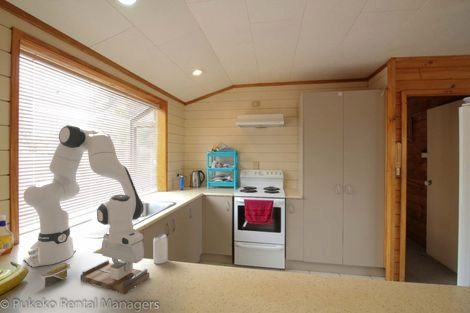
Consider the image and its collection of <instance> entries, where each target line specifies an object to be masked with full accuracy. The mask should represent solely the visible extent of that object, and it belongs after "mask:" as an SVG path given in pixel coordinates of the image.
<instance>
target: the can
mask: <svg viewBox="0 0 470 313" xmlns="http://www.w3.org/2000/svg"><path fill="white" fill-rule="evenodd" d="M152 245H153V247H152V251H153V253H152V254H153V256H152V258H153V263H154V264H156V265H161V264H165V263H166V262H168V256H169V255H168V254H169V252H168V251H169V250H168V236H167V235H166V234H164V233H162V234H161V233H160V234H157V235H155V236H154V237H153V241H152Z"/></svg>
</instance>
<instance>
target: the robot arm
mask: <svg viewBox="0 0 470 313" xmlns="http://www.w3.org/2000/svg"><path fill="white" fill-rule="evenodd" d="M58 140H59V143H58V145H57V147H56V149H55V151H54V154H53V156H52V159H51V161H50V165H49V171H50V172H51V173H52V174H53V179H52V181H44V182H38V183H36V184H35V183H34V184H33V185H30V186H28V187H27V188H26V189H25V190H24V193H23V200H24V202H25V203H26V204H27V205H28V206H30V207H31V208H33V209H34V210H35V211H36V212H37V215H38V218H39V228H40V229H39V232H38V234H37V238H38V239H37V241H36V242H35V243H34V244H33V245H32V246H30V249H29V250H28V251H27V252H28V255H27V256H25V257H24V258H23V261H24V260H25V261H26V262H25V263H26V264H28V266H30V267H31V266H32V267H31V268H36V267H40V266H48V265H53V264H54V265H55V264H58V263H62V262H63V261H66V260H68V259H70V258H72V257H73V256H74V253H76V251H77V250H76V248H74V242H73V241H74V240H73V237H72V236H70V235H71V228H70V225H69V223H70V222H69V220H70V219H69V217H70V216H69V213H68V211H67V210H65V209H63V208H62V207H61V203H62V202H65V201H68V200H69V201H70V200H71V199H73V198H75V197H76V196H78V194H79V193H80V188H81V187H80V184H79V183H78V182H77V180H76V179H77V171H78V169H79V165H80V164H81V160H82V158H83V155H84V152H85V151H87V155H88V156H87V157H88V162H89V167H90V169H91V171H92V172H94V173H95V174H97V175H98V176H101V177H104V178H107V179H108V178H109V179H112V180H114V181H117V182H118V183H119V185H121V188H122V190H123V194H116V195H113V196H111V197H110V198H109V200H108V201H106V202H103V203H100V205H99V206H98V208H96V218H97V219H96V220H97V222H98V223H99V224H101V225H103V226H106V225H108V226H109V228H108V232H106V233H105V234H104V235H103V240H102V242H101V256H103V257H106V258H111V260H112V263H113V264H115V263H117V262H119V261H121V260H123V261H125V263H127V264H126V266H124V271H129V270H130V265H131V263H133V264H138V263H139V262H141V261H143V259H144V258H145V257H144V255H145V250H144V249H145V247H144V243H143V241H142V240H143V239H144V235H143V233H140V232H139V231H137V230H136V229H135V228H134V224H133V221H134V220H138V219H139V218H140V217H141V216H142V215H143V212H144V210H145V209H144V207H145V206H144V203H143V201H142V199H141V198H140V197H139V195H138V194H139V193H138V192H137V190H136V189H137V188H136V187H135V185H134V182H133V179H132V177H131V175H130V172H129V170H128V168H127V166H124V165H122V163H121V162H120V161H119V159H118V156H117V152H116V149H115V145H114V143H113V140H112V138H111V135H109V134H108V133H106V132H104V131H101V130H98V129H95V128H91V127H84V126H78V125H76V124H75V125H74V124H67V125H63V127H62V128H61V129H60V131H59V133H58Z"/></svg>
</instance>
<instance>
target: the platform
mask: <svg viewBox="0 0 470 313" xmlns="http://www.w3.org/2000/svg"><path fill="white" fill-rule="evenodd" d="M70 269H71V264H69V263H67V262H63V263H60V264H59V265H57V266H53V267H51V268H49V269H48V272H46V273H44V274H43V273H42V274H41V275H40V278H42V279H43V278H44V287H45V286H46V287H47V286H50V285H52V284H54V283H56V282H58V281H60V280H66V279H67V277H68V270H70Z"/></svg>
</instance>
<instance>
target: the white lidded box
mask: <svg viewBox="0 0 470 313" xmlns="http://www.w3.org/2000/svg"><path fill="white" fill-rule="evenodd" d="M118 261H119V262H117V263H115V264H114V263H113V265H111V278H112V279H115V280H119V279H121V278H123V277H124V276H126V275H128V274H129V273H131V272H133V269H134V266H133V264H134V263H131V265H130V270H129V271H124V266H126V264H127V263H125V261H123V260H118Z"/></svg>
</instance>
